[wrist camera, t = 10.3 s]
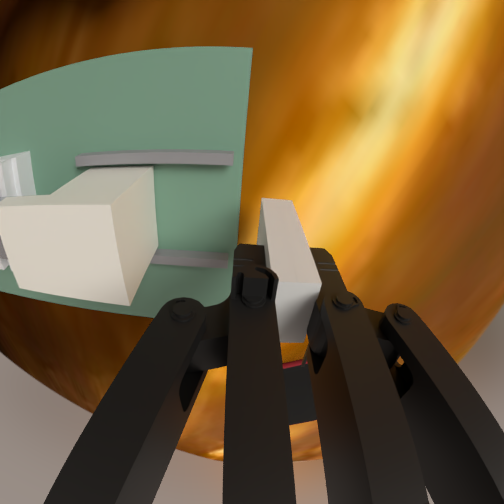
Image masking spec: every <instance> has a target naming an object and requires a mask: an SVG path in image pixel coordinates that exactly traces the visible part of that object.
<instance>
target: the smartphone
mask: <svg viewBox="0 0 504 504" xmlns="http://www.w3.org/2000/svg"><path fill="white" fill-rule="evenodd" d="M302 360H303V359H302ZM302 360H297V361H292V362H288V363H283V373H284V382H285V391H286V401H287V410H288V420H289V425H293V424H299V423H304V422H309V421H314V420H317V416H316V410H315V404H314V398H313V391H312V386H311V380H310V374H309V368H308V362H306V364H305V367H301V366H302Z"/></svg>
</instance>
